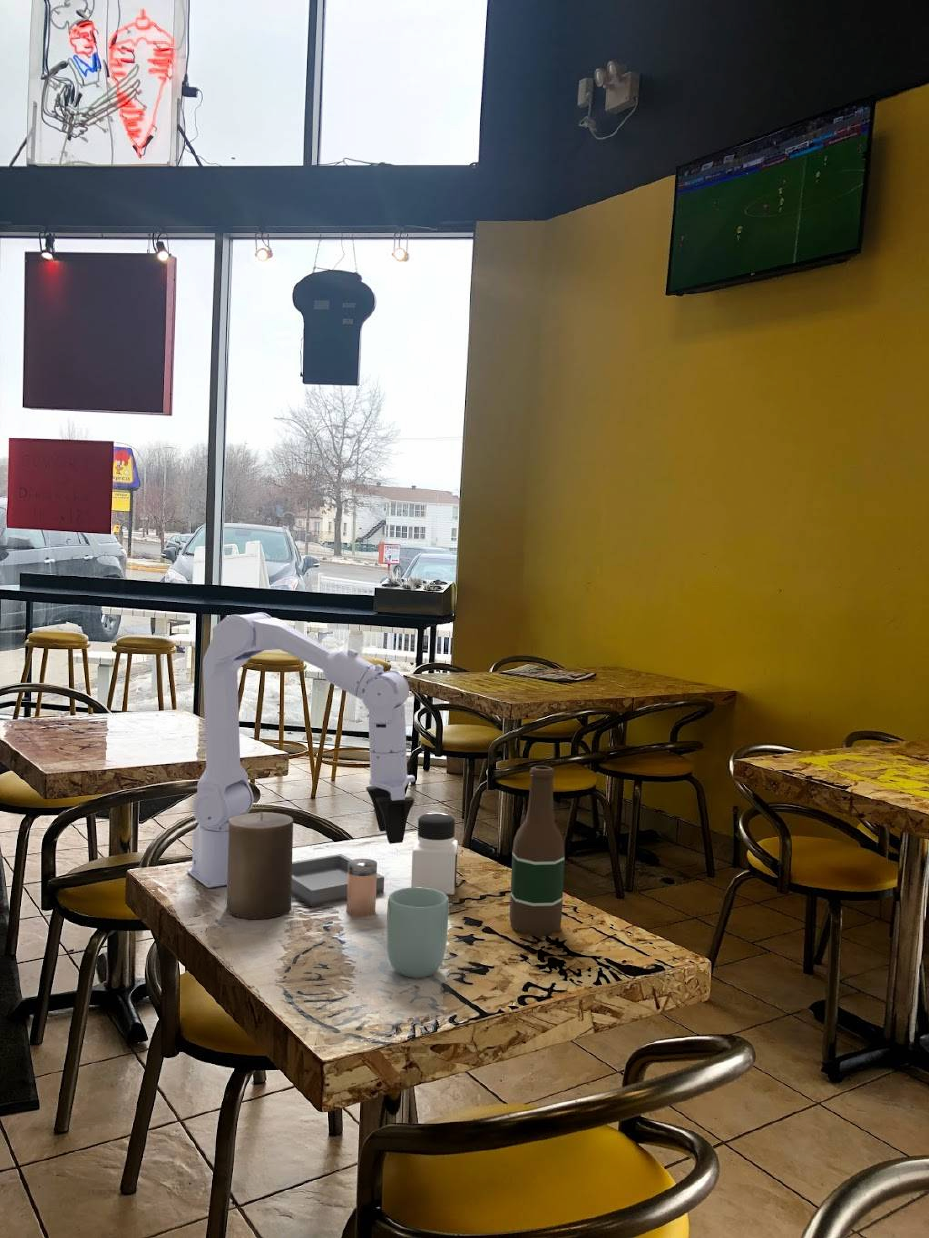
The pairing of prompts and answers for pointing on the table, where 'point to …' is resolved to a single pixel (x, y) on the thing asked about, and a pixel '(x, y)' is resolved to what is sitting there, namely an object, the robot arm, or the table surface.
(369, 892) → the salt shaker
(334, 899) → the tray
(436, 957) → the cup
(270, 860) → the pillar candle
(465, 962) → the table surface
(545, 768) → the beer bottle
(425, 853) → the medicine bottle
